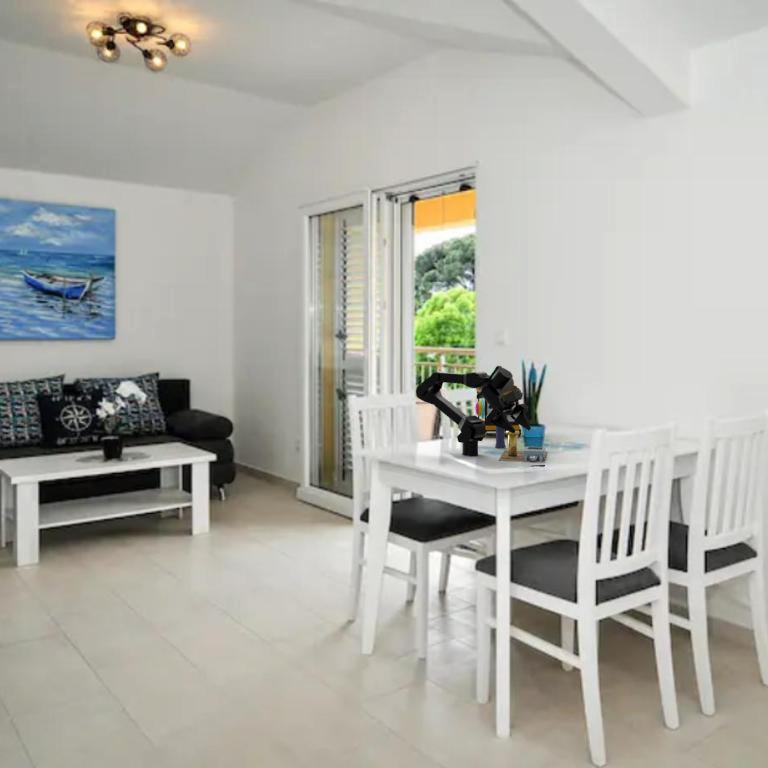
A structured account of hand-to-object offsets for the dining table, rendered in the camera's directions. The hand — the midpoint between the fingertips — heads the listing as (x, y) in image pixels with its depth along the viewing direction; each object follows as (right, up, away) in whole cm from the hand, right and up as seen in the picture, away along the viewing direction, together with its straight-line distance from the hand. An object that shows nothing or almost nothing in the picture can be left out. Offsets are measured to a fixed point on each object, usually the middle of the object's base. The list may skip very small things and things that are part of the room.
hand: (522, 430), depth 267 cm
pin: (-1, -10, +13) cm, 16 cm away
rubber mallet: (-3, -10, +33) cm, 34 cm away
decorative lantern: (+3, -7, +79) cm, 79 cm away
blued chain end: (+5, -10, +7) cm, 14 cm away
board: (+3, -11, +12) cm, 17 cm away
